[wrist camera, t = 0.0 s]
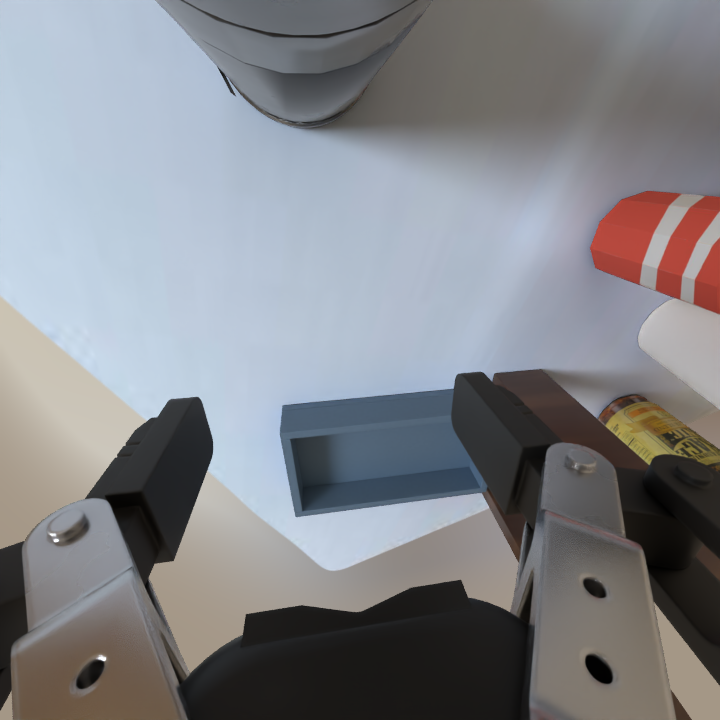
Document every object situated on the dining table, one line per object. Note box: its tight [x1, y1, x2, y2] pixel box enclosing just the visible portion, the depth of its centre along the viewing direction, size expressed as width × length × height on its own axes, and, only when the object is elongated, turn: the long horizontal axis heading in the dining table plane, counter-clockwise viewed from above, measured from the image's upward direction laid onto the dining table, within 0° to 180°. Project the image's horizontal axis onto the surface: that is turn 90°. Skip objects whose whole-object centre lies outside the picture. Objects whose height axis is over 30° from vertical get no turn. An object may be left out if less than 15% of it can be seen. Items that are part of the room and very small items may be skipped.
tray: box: [280, 389, 488, 517], centre depth 34 cm, size 12×21×4 cm, turn 91°
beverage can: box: [590, 191, 720, 314], centre depth 22 cm, size 6×6×12 cm
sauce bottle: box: [598, 395, 720, 473], centre depth 30 cm, size 6×6×20 cm
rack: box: [482, 369, 720, 720], centre depth 24 cm, size 14×5×30 cm, turn 1°
